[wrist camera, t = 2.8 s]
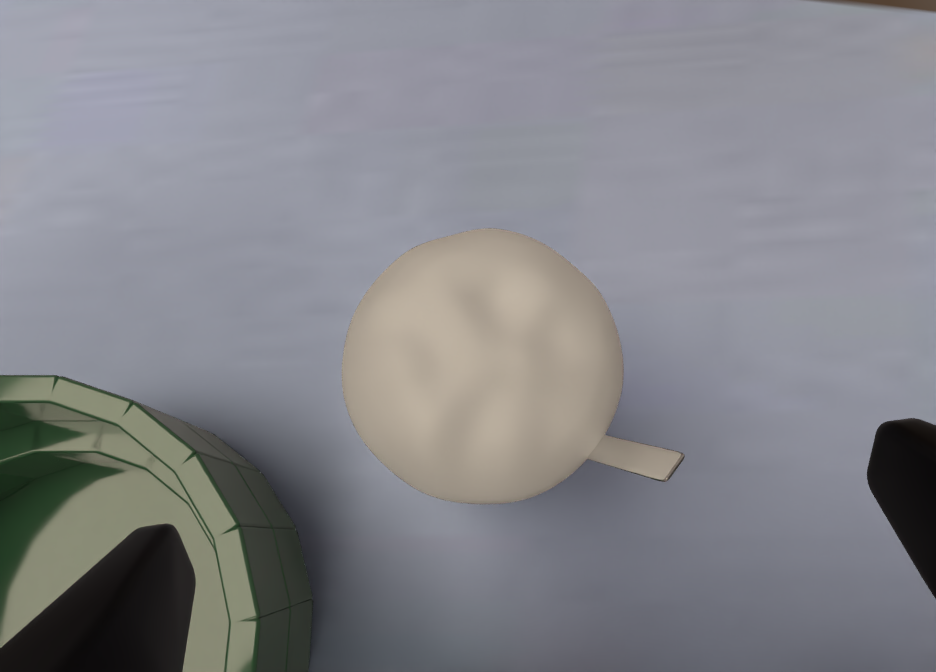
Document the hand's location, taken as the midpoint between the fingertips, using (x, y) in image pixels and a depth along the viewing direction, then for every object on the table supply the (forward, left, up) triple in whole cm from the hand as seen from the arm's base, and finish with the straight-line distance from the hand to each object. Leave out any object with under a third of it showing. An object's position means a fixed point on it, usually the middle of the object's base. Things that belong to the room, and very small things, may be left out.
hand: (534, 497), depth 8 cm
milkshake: (+1, +2, -10) cm, 10 cm away
